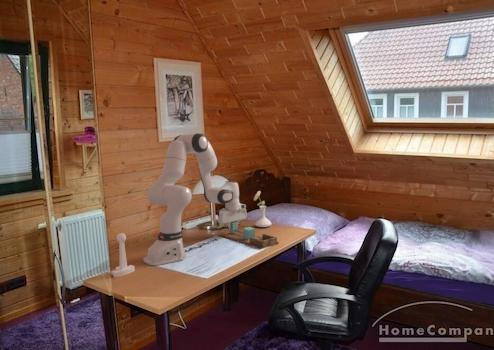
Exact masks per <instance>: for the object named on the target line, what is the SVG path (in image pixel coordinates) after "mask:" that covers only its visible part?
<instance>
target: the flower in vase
mask: <svg viewBox="0 0 494 350" xmlns="http://www.w3.org/2000/svg"><path fill="white" fill-rule="evenodd" d="M261 193H262V192H261V190H258V191H257V192H256V194H255V195H254V197H253V201H254V202H255V201H257V200H258V199H259V201H260V202H259V203H257V206H259V208H260V213H261V216H260V218H259V219H258V220H256V221H255V222H254V225H255V226H256V227H258V228H268V227H271V226H272V224H273V223H272V222H271V220H269V219H268V218H267V217H266V214H265V212H266V208H267V206H266V205H265V203H266V202H265V200H261V198H260V195H261Z"/></svg>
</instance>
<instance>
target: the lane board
mask: <svg viewBox="0 0 494 350" xmlns="http://www.w3.org/2000/svg"><path fill="white" fill-rule="evenodd" d="M238 231H239V232H242V233H243V230H242V231H241V230H238ZM239 232H234V233H232V232H229V233H225V234H222V235H221V238H224V237H225V239H229V240H231V239H232V240H231V241H234V240H235V241H234V242H237V241H239V242H238V243H240V242H241V244H243V243H245V244H244V245H246V244H248V245H247V246H250V245H251V246H250V247H253V246H254V247H253V248H257V249H260V250H262V249H266V248H269V247H273V246H275V245H276V246H277V245H279V241H278V237H277V236H274V235H269V234H265V233H263V234H261V236H260V235H259V236H258V235H256V234H255V238H250V240H247V239H245V238H243V234H241V233H239Z"/></svg>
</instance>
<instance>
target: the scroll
mask: <svg viewBox="0 0 494 350" xmlns="http://www.w3.org/2000/svg"><path fill="white" fill-rule="evenodd" d="M242 221H243V219H242V220H239V224H241V223H242ZM234 222H236V221H234ZM214 224H215V228H216V229H218V230H219V229H222V228H223V227H224V228H226V226H227V227H228V225H227V223H225V224H220V223H219V219H215V220H214ZM239 224H238V225H239Z"/></svg>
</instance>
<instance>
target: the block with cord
mask: <svg viewBox="0 0 494 350" xmlns="http://www.w3.org/2000/svg"><path fill="white" fill-rule="evenodd" d="M230 226H232V229H228V230H229V231H228V232H229V233H234V232H239V231H240V230H238V227H237V222H230ZM242 232H243V233H242ZM242 232H239V233H241V234H243V238H245V239H247V240H250V238H255V235H256V229H255V228H254V227H251V226H247V227H244V228H242Z"/></svg>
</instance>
